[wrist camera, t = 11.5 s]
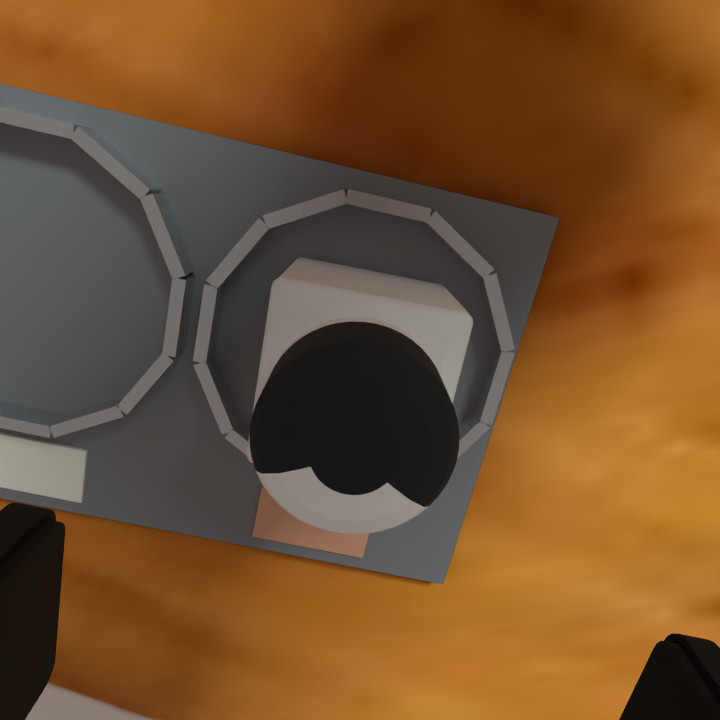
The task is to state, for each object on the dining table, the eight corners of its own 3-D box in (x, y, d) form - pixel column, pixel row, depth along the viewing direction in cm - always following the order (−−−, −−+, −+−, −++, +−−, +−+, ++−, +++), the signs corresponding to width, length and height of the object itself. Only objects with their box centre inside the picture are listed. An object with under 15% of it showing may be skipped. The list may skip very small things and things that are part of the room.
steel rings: (-122, 77, 24) (-153, 70, 22) (540, 234, 25) (551, 237, 24) (-117, 388, 28) (-143, 398, 26) (456, 505, 29) (461, 521, 28)
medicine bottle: (295, 254, 26) (242, 303, 14) (446, 284, 26) (514, 355, 15) (272, 398, 28) (209, 543, 16) (413, 423, 28) (450, 584, 17)
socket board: (-118, 56, 24) (-141, 49, 23) (552, 216, 26) (561, 217, 25) (-112, 464, 30) (-131, 475, 29) (440, 572, 32) (443, 586, 31)
